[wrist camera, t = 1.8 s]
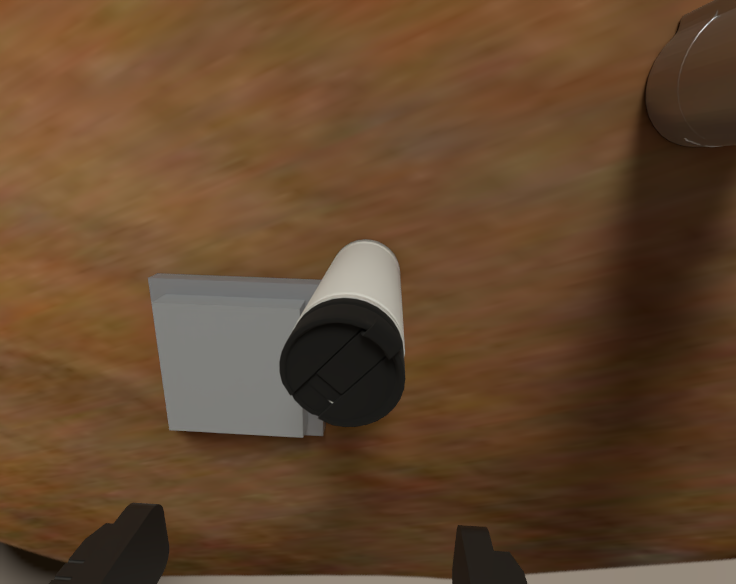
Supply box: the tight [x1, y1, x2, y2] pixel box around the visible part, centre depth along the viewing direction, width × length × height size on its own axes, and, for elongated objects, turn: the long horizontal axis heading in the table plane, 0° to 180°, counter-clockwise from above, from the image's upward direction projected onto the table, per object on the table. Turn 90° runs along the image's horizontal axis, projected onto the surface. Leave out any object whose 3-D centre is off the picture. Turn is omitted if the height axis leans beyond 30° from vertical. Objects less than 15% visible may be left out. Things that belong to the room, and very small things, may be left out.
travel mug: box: [279, 239, 405, 427], centre depth 29 cm, size 6×7×20 cm
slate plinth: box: [148, 273, 325, 438], centre depth 40 cm, size 16×16×4 cm
